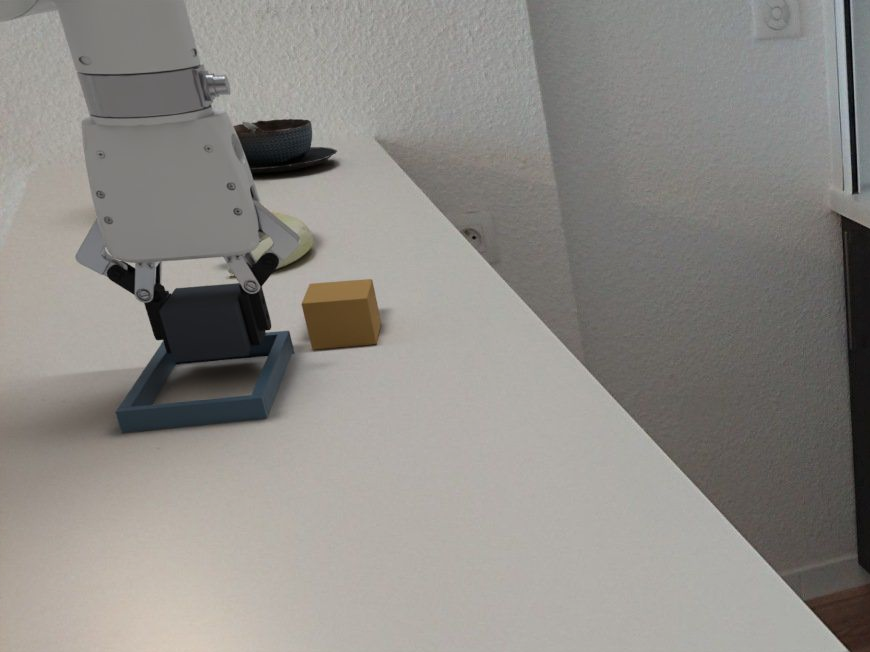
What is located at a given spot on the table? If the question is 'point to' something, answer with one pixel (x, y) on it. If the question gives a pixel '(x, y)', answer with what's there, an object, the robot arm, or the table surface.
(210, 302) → the dark gray block
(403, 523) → the table surface
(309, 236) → the fruit
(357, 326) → the orange block
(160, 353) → the frame
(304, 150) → the soup bowl
